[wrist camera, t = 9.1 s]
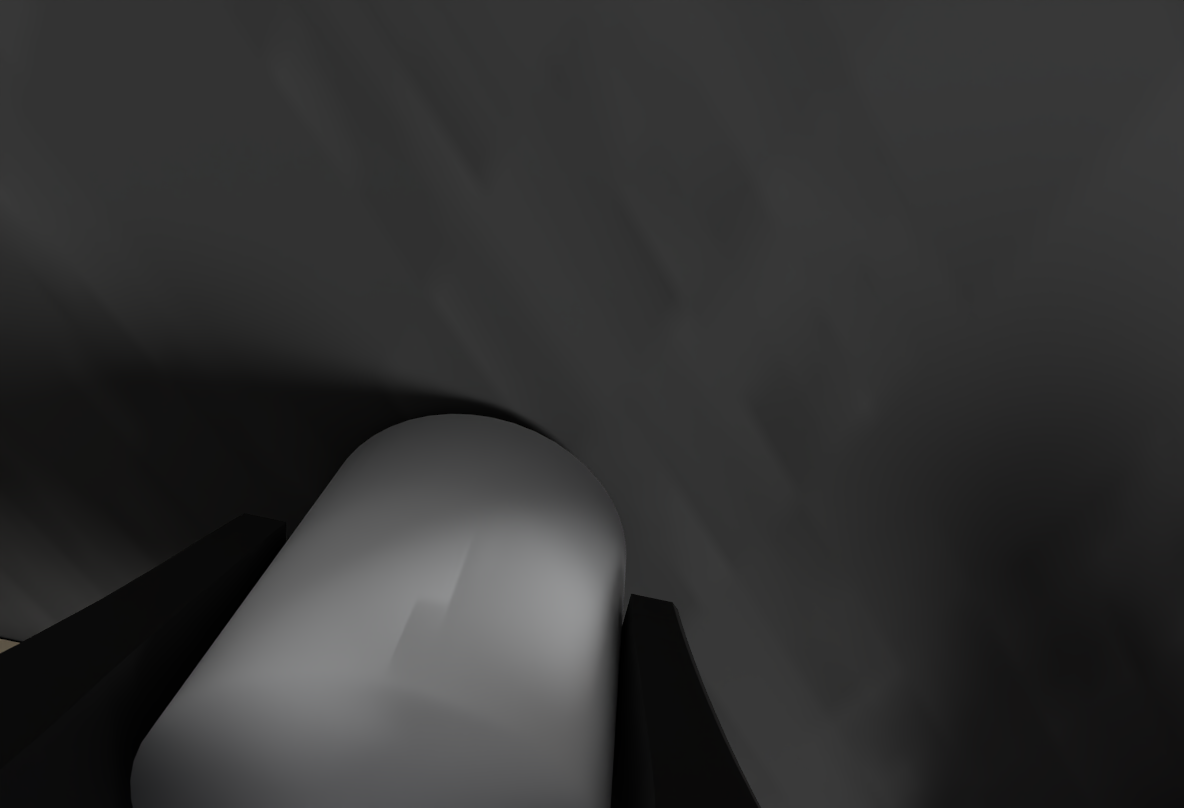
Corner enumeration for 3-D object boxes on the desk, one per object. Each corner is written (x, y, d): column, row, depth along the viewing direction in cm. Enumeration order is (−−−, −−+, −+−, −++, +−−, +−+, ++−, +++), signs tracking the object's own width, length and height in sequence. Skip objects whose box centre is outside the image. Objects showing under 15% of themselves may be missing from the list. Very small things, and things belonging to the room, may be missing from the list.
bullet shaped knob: (593, 685, 13) (561, 1012, 9) (320, 629, 13) (150, 931, 9) (657, 452, 11) (656, 735, 7) (328, 383, 11) (105, 623, 7)
